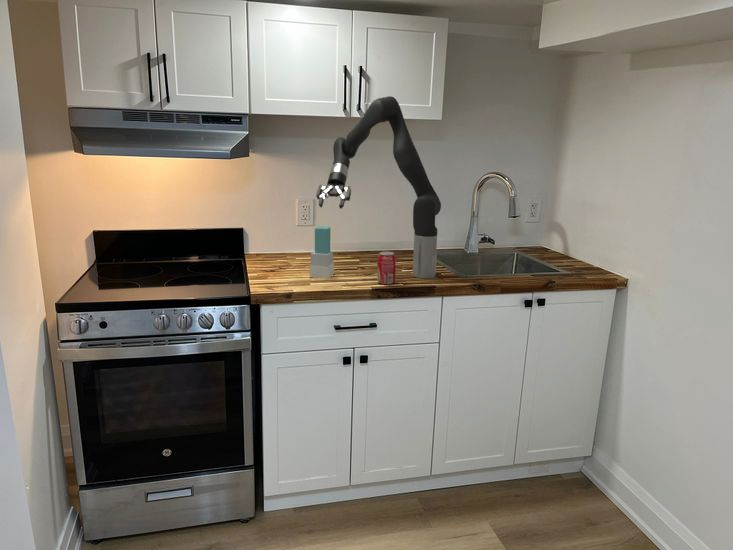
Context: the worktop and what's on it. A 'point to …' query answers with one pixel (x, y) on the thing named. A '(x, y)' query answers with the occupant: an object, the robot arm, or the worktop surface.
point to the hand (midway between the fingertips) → (330, 206)
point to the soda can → (386, 267)
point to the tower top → (322, 259)
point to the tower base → (321, 271)
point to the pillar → (322, 240)
